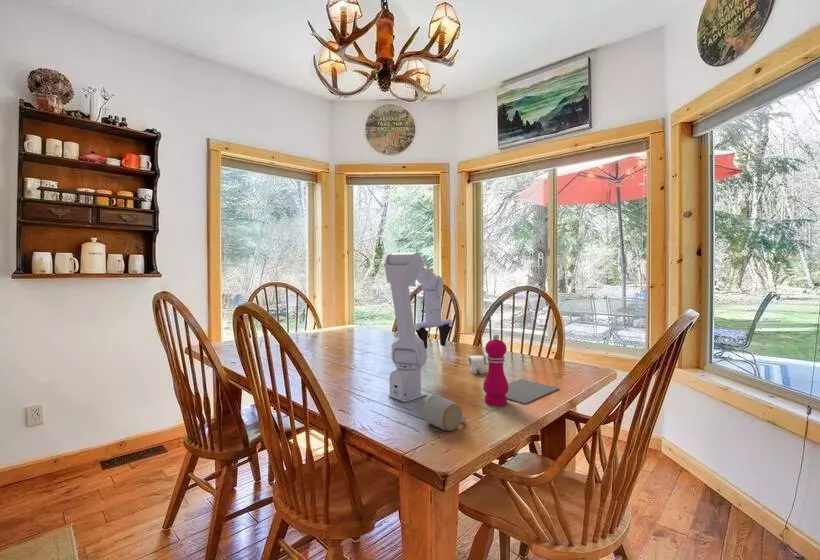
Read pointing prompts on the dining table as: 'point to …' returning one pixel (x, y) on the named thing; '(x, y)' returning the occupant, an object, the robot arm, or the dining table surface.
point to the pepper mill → (495, 373)
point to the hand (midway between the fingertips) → (433, 347)
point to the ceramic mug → (442, 413)
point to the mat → (527, 391)
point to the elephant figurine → (477, 363)
